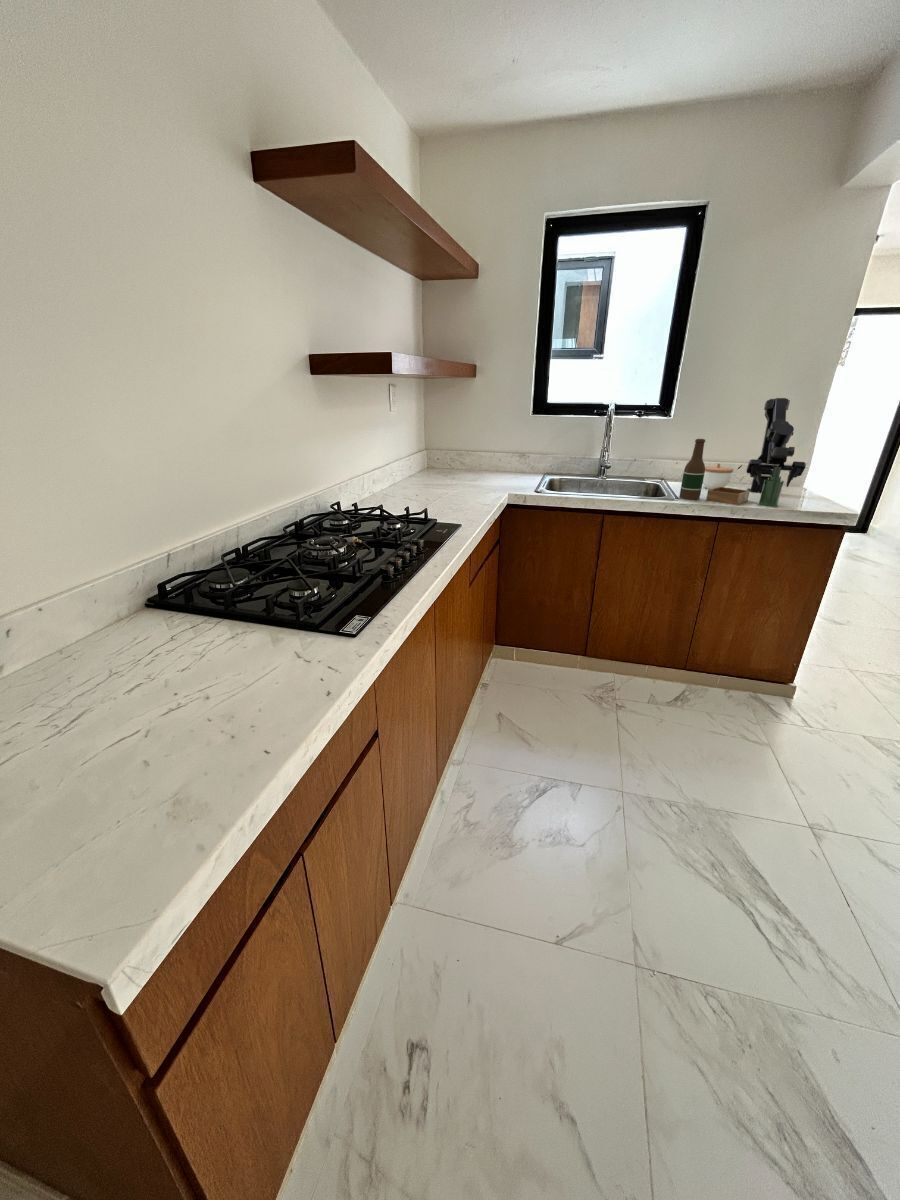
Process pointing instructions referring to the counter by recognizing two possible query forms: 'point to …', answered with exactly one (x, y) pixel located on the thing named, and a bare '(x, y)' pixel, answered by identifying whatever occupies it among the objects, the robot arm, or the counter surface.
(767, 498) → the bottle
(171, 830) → the counter surface
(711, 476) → the lidded bowl
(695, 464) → the beer bottle
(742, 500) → the wooden tray
